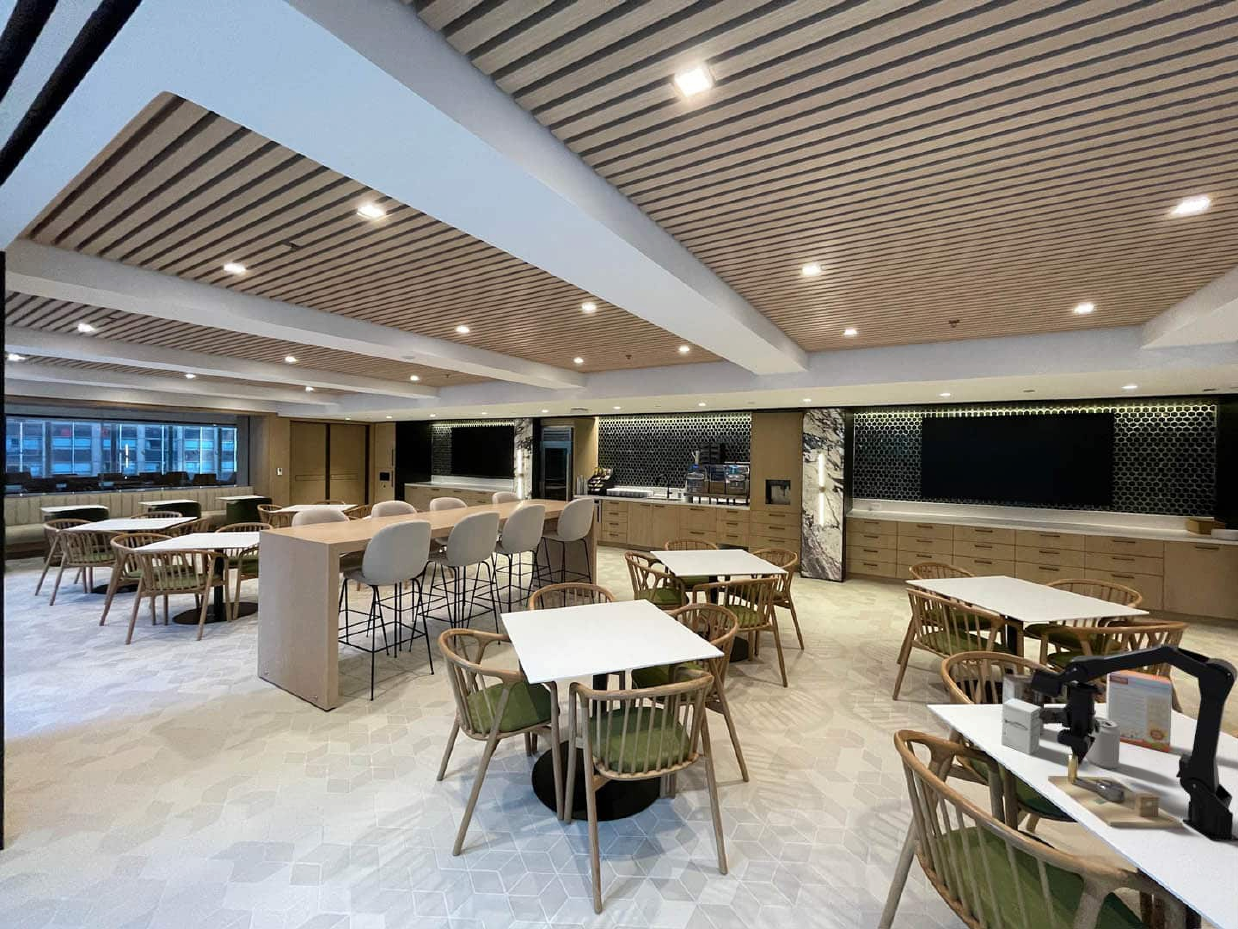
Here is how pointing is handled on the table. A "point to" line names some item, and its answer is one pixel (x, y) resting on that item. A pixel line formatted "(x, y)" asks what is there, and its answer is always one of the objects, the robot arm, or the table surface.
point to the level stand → (1118, 805)
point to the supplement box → (1021, 725)
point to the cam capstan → (1101, 787)
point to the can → (1105, 745)
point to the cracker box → (1140, 708)
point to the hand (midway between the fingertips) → (1077, 763)
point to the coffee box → (1021, 692)
